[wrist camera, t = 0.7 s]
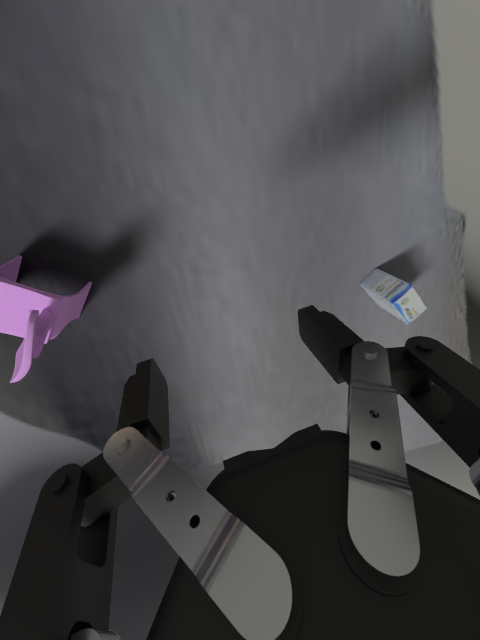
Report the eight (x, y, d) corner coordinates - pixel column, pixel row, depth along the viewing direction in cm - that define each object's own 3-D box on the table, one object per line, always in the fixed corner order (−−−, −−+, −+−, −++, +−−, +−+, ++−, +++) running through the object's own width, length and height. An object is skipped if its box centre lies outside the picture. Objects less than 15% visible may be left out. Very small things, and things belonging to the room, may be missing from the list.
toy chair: (15, 245, 29) (-89, 299, 17) (94, 275, 34) (56, 336, 21) (2, 301, 32) (-97, 382, 20) (77, 322, 36) (34, 400, 24)
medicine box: (391, 288, 50) (429, 307, 43) (375, 304, 52) (409, 325, 45) (375, 267, 46) (414, 284, 39) (357, 284, 47) (392, 304, 40)
